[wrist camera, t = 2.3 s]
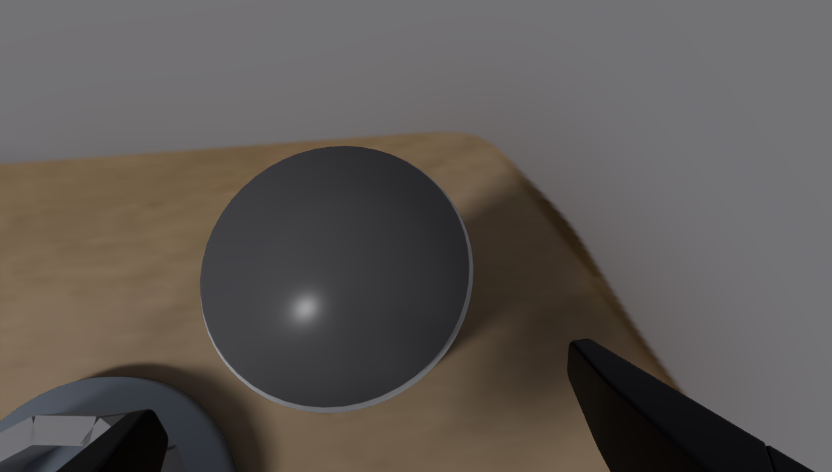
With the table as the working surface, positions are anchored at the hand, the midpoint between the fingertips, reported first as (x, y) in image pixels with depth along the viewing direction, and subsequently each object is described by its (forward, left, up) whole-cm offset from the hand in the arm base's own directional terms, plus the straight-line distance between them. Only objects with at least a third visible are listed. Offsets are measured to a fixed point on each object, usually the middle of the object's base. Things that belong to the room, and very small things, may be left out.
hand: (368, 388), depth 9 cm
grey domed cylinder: (+2, -2, -10) cm, 11 cm away
